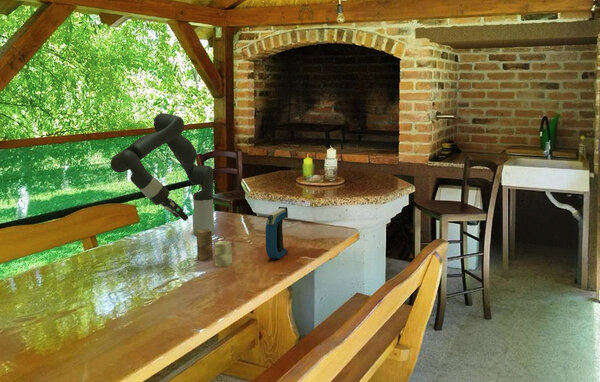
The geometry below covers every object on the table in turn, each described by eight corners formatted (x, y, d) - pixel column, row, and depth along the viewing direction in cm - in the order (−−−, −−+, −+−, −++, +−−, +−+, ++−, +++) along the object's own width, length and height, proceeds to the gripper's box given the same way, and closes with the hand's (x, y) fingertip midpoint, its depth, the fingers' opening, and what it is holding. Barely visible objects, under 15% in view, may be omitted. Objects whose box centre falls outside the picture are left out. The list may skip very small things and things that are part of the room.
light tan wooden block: (200, 261, 255) (199, 232, 253) (197, 258, 259) (196, 230, 257) (212, 259, 257) (211, 231, 255) (209, 256, 262) (208, 228, 259)
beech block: (215, 266, 248) (214, 244, 247) (220, 262, 253) (219, 241, 251) (227, 266, 247) (226, 244, 245) (231, 263, 252) (231, 241, 250)
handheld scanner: (289, 251, 267) (288, 206, 264) (276, 262, 252) (274, 214, 249) (279, 251, 269) (278, 206, 265) (265, 261, 254) (263, 214, 250)
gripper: (167, 185, 237) (195, 213, 245) (154, 181, 249) (182, 208, 257) (154, 200, 235) (183, 227, 243) (142, 195, 247) (170, 222, 255)
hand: (182, 217), depth 250 cm, fingers open, 8 cm apart
